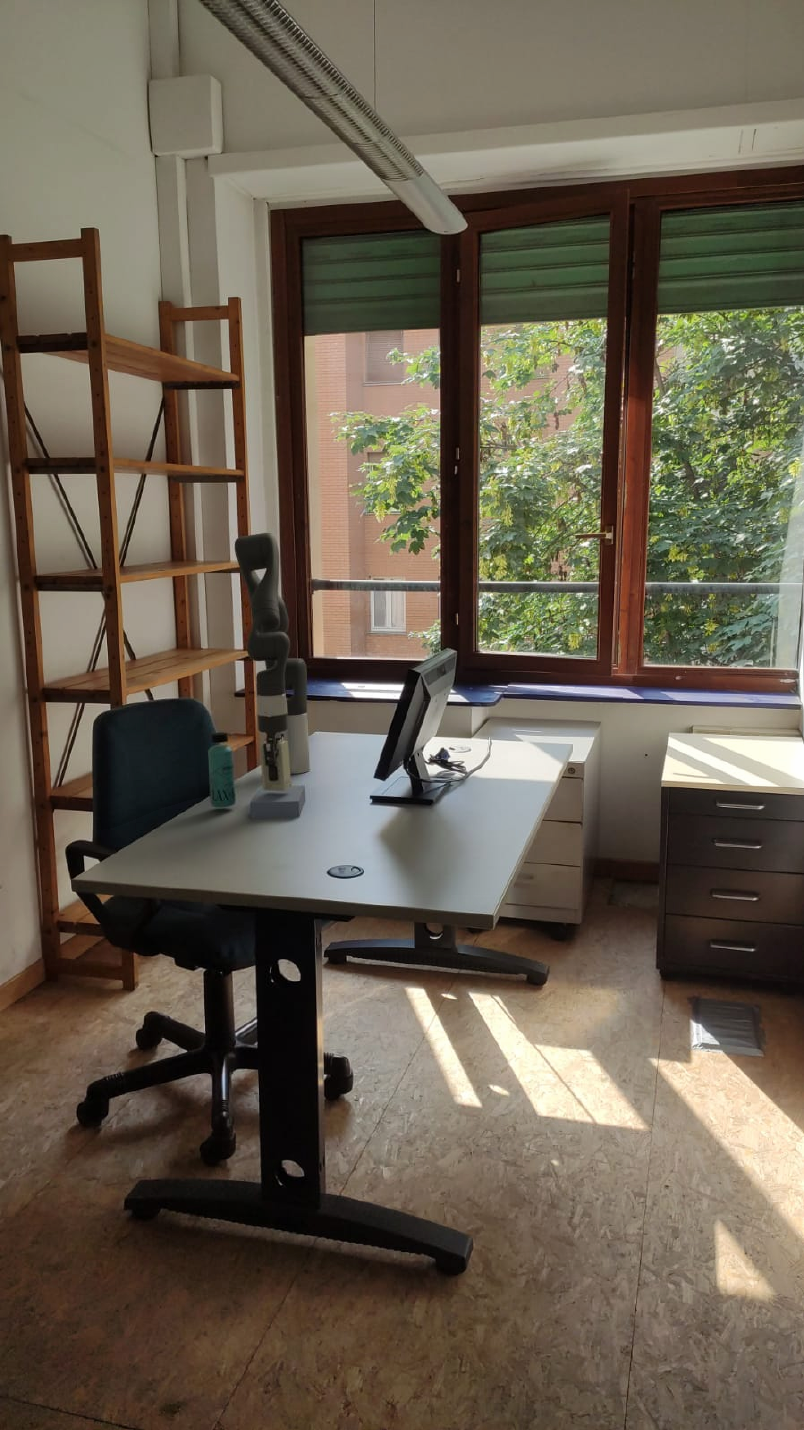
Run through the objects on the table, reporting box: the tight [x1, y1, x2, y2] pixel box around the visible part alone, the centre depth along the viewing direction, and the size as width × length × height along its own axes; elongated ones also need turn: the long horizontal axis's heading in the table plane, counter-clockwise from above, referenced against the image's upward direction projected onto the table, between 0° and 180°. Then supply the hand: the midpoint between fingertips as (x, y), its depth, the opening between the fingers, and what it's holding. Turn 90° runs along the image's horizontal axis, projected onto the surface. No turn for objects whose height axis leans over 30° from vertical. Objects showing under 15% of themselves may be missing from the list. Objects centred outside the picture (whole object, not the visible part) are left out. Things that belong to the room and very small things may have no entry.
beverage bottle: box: [207, 731, 237, 808], centre depth 268 cm, size 6×7×20 cm
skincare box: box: [259, 741, 292, 791], centre depth 266 cm, size 6×4×12 cm
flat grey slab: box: [249, 785, 306, 820], centre depth 268 cm, size 16×12×4 cm
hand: (275, 777), depth 267 cm, fingers closed on skincare box, 5 cm apart
